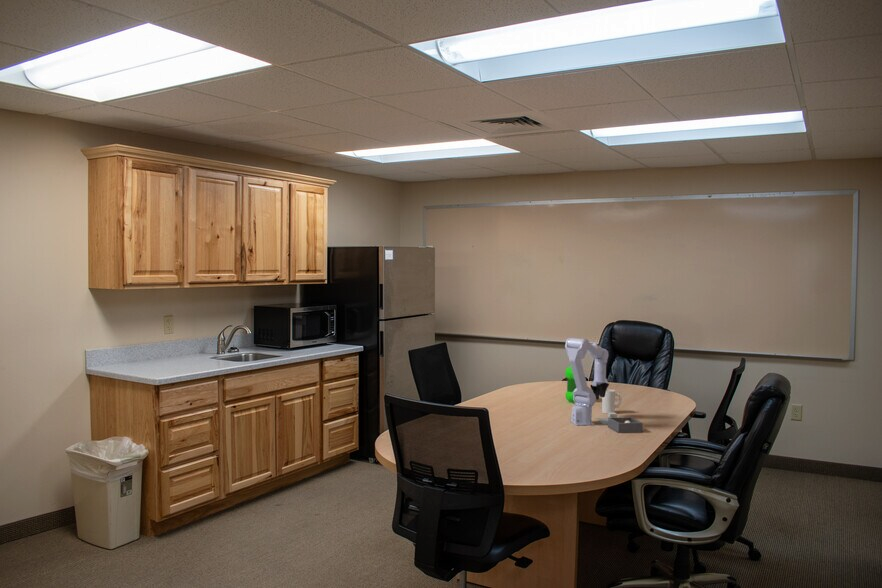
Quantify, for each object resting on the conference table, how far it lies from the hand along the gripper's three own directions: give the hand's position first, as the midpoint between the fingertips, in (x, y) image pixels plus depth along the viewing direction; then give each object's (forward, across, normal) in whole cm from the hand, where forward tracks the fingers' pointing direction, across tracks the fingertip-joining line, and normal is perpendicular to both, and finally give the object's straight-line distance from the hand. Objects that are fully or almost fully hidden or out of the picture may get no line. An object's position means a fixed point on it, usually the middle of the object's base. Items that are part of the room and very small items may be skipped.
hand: (599, 398), depth 333 cm
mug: (+11, +17, 0) cm, 20 cm away
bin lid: (+11, -2, -8) cm, 14 cm away
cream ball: (+8, -11, -19) cm, 24 cm away
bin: (+10, -15, -19) cm, 26 cm away
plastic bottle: (+11, +30, +28) cm, 42 cm away
